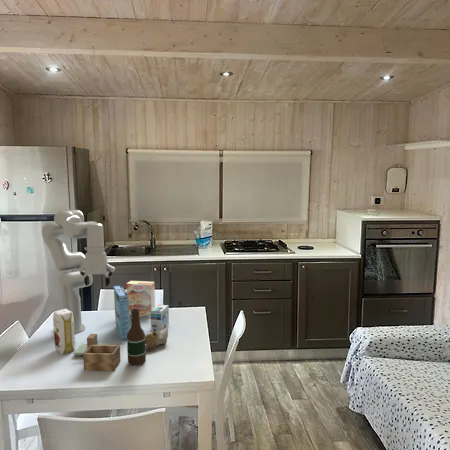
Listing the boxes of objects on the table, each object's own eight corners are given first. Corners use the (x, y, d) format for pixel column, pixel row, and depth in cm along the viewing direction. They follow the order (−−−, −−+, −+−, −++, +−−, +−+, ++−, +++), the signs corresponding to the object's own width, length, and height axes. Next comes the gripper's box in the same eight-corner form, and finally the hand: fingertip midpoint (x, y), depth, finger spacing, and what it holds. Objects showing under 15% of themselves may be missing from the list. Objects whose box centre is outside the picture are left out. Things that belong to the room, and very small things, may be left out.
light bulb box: (162, 330, 215) (162, 311, 214) (150, 330, 217) (150, 310, 215) (169, 323, 226) (168, 304, 224) (157, 322, 227) (157, 304, 226)
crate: (83, 370, 172) (82, 353, 171) (91, 361, 181) (90, 345, 180) (114, 371, 171) (113, 354, 170) (120, 361, 180) (119, 345, 179)
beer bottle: (137, 367, 174) (135, 314, 171) (124, 363, 178) (122, 310, 175) (149, 360, 181) (148, 308, 178) (136, 356, 185) (135, 305, 182)
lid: (73, 357, 185) (72, 340, 184) (81, 348, 194) (81, 331, 193) (104, 357, 184) (103, 340, 183) (110, 348, 194) (110, 331, 193)
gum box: (130, 338, 205) (129, 294, 202) (120, 340, 203) (118, 296, 200) (124, 325, 223) (122, 285, 220) (114, 327, 221) (113, 286, 218)
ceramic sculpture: (172, 328, 195) (142, 337, 187) (173, 345, 196) (144, 355, 188) (162, 322, 204) (134, 330, 196) (164, 338, 205) (135, 347, 197)
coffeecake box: (127, 315, 238) (125, 283, 236) (131, 311, 245) (130, 280, 243) (151, 317, 236) (150, 284, 233) (155, 313, 243) (154, 281, 240)
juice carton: (69, 345, 198) (67, 307, 195) (77, 350, 191) (74, 311, 189) (53, 350, 192) (51, 311, 190) (61, 355, 186) (58, 315, 184)
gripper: (74, 251, 187) (76, 287, 189) (111, 251, 186) (113, 287, 188) (80, 248, 194) (82, 283, 196) (116, 248, 194) (117, 283, 196)
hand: (97, 285), depth 192 cm, fingers open, 9 cm apart
